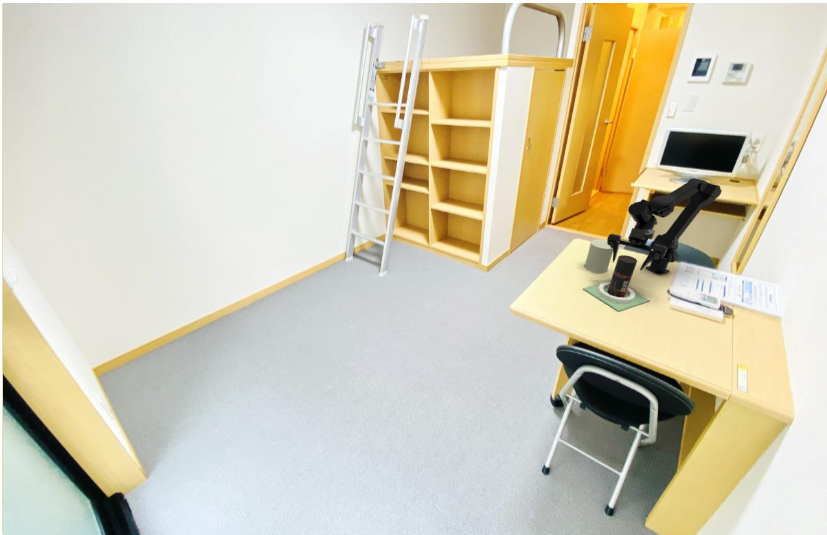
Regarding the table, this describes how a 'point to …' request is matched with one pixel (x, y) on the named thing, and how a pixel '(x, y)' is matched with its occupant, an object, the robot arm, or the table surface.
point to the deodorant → (622, 276)
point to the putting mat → (612, 304)
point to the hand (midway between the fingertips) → (626, 265)
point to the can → (598, 256)
